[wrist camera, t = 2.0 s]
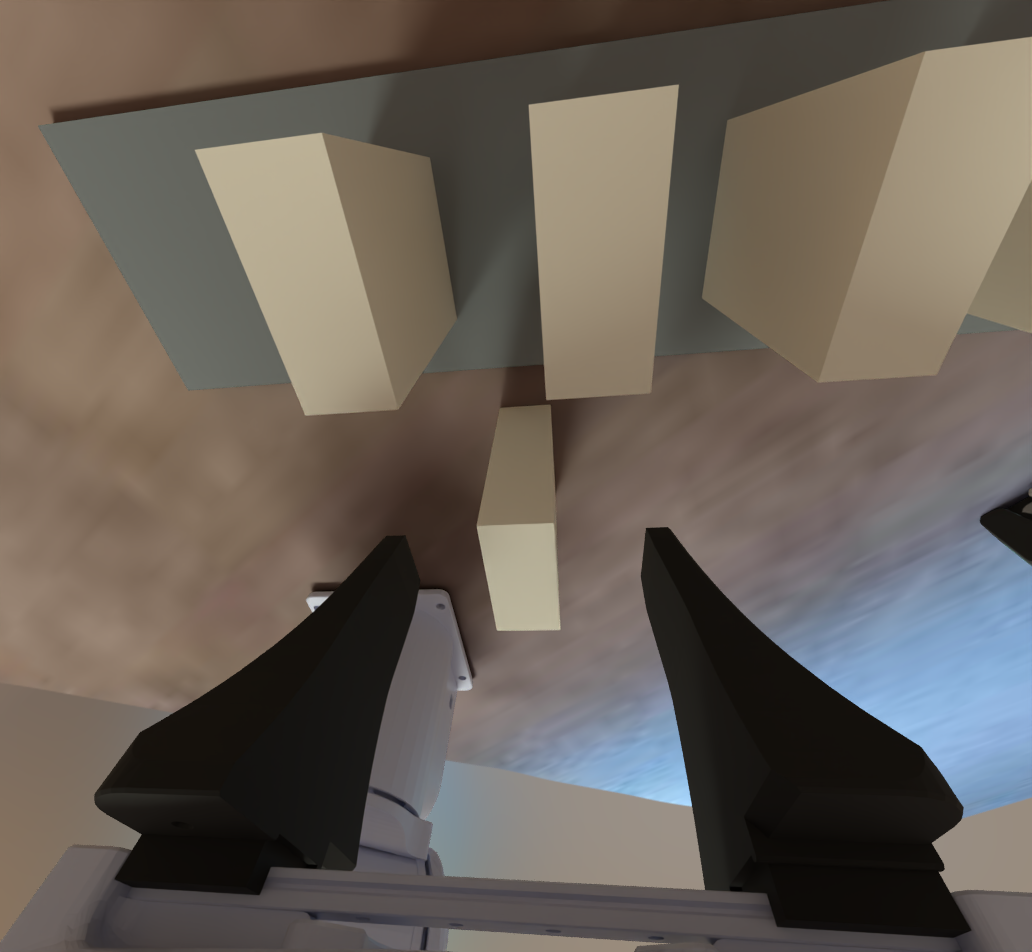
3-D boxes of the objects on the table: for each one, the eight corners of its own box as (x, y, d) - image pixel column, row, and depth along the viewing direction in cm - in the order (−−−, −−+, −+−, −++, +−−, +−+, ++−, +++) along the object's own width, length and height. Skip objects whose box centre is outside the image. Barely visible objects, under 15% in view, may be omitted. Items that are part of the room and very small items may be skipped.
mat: (1038, 323, 14) (1051, 327, 13) (196, 385, 17) (188, 390, 16) (1256, -49, 9) (1286, -59, 9) (52, 127, 12) (37, 125, 12)
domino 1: (457, 319, 14) (398, 409, 9) (399, 323, 15) (305, 415, 9) (429, 157, 12) (321, 132, 6) (361, 166, 12) (194, 149, 6)
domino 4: (767, 292, 13) (936, 374, 8) (701, 298, 14) (818, 382, 8) (808, 109, 11) (1106, 26, 5) (727, 120, 11) (925, 50, 5)
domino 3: (606, 306, 14) (650, 392, 8) (545, 311, 14) (546, 399, 8) (610, 134, 11) (678, 84, 6) (536, 144, 12) (528, 104, 6)
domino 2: (555, 494, 19) (560, 630, 13) (511, 496, 19) (497, 630, 13) (550, 404, 16) (554, 523, 11) (500, 407, 17) (476, 525, 11)
